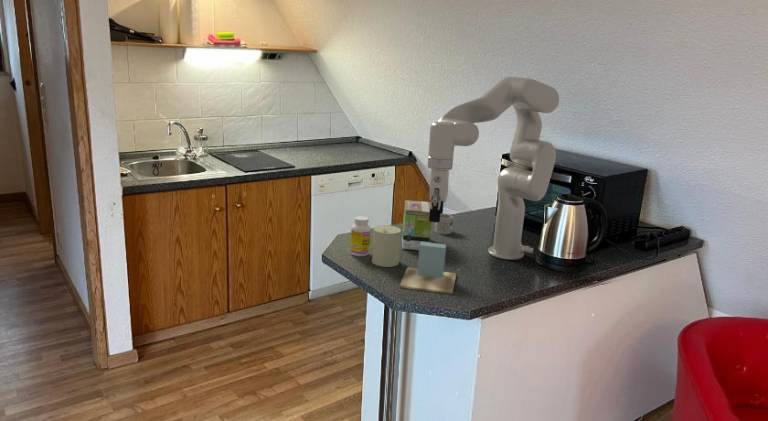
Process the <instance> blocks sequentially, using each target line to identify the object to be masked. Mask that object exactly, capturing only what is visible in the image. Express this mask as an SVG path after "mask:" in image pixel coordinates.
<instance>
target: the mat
mask: <svg viewBox="0 0 768 421" xmlns="http://www.w3.org/2000/svg"><path fill="white" fill-rule="evenodd" d="M417 272H418V267H417V268H415V267H406V269H405V272H404V275H403V277H402V279H401V282H400V283H399V288H401V289H410V290H416V291H417V290H418V291H424V292H433V293H440V294H446V295H447V294H449V295H453V294H454V288H455V282H456V278H457V272H456V273H455V272H450V271H444V274H443V278H437V277H429V276H421V275H417Z"/></svg>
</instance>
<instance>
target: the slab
mask: <svg viewBox="0 0 768 421" xmlns="http://www.w3.org/2000/svg"><path fill="white" fill-rule="evenodd" d="M446 251H447V244H445V243H444V244H443V243H435V242H430V243H428V242H421V243H420V247H419V250H418V262H417V269H418V272H417V275H421V276H429V277H437V278H443V274H444V272H445V271H444V270H445V264H446V262H445V261H446V253H447V252H446Z"/></svg>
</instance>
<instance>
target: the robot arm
mask: <svg viewBox="0 0 768 421" xmlns="http://www.w3.org/2000/svg"><path fill="white" fill-rule="evenodd" d="M559 103H560V95H559V92H558V90H557V89H556V88H555V87H552V86H551V85H549V84H545V83H544V82H541V81H539V80H536V79H533V78H530V77H521V76H520V77H517V76H506V77H503V78H502V79H500V80H499V81H498V82H497V83H495V84H494V85H493V86H492V87H491V88H490V89H488V90H487V91H486V92H485V93H483V95H481V96H480V97H478V98H475V99H471V100H469V101H466V102H464V103H462V104H458V105H456V106H454V107H452V108H451V109H450V110H448V111H447V112H446V113H444V114H443V115H442V116H441V117H440V118H439V119H438V121H434V122H432V123H431V124H430V130H429V144H428V153H427V154H428V155H427V169H430V181H429V202H431V208H430V214H429V221H430V222H432V223H435V222H440V214H444V213H443V212H444V203H446V201H447V198H448V193H449V192H448V191H449V181H450V180H449V178H450V177H449V176H450V171H452V170H453V166H454V165H453V164H454V151H455V147H456V146H458V147H470V146H472V145H474V144H475V143H476V142H477V141H478V139H479V137H480V130H479V128H478V126H477V125H476V123H479V124H480V123H487V122H491V121H495V120H496V119H498V118H499V117H500V116H502V114H503V113H504V112H506V110H509V108H510V107H511V106H512V107H513V109H514V110H515V113H516V118H517V119H516V121H517V122H516V127H515V132H514V135H513V140H512V142H511V146H510V151H509V159H510V160H511V162H513V163H514V164H517V165H520V166H525V167H529V168H532V171H531V170H527V169H523V168H519V167H513V166H511V167H505V168H503V169H502V170H500V172H499V174H498V176H497V177H498V178H497V192H498V194H497V196H498V198H497V210H496V217H495V219H496V220H495V226H494V234H493V243H492V246H490V247H488V250H487V252H488V254H489V255H491V256H492V257H495V258H497V259H502V260H510V261H511V260H512V261H513V260H521V259H522V258H523V257H524V253H527V254H533V253H534V247H530V245H523V244H522V236H523V235H522V233H523V227H524V220H525V213H526V212H525V211H526V205H525V201H524V199H526V200H529V201H535V202H536V201H541V200H542V199H543V198H544V197H545V195H546V193H547V191H548V188H549V185H550V181H551V177H552V174H553V170H554V167H555V163H556V159H557V152H556V148H555V145H554V144H552V143H551V142H549V141H545V140H540V138H541V133H542V129H543V121H542V118H541V116H540V113H543V114H550V113H552V112H554V111H555V110H556V109H557V107H558V106H559Z"/></svg>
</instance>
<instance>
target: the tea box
mask: <svg viewBox="0 0 768 421" xmlns="http://www.w3.org/2000/svg"><path fill="white" fill-rule="evenodd" d="M403 207H404V208H403V217H402V218H403V220H402V229H401V247H402V249H403V250H414V251H419V247H420V243H421V242H428V243H431V231H432V223H433V222H430V221H429V214H430V208H431V201H421V200H420V201H419V200H404V206H403Z"/></svg>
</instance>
